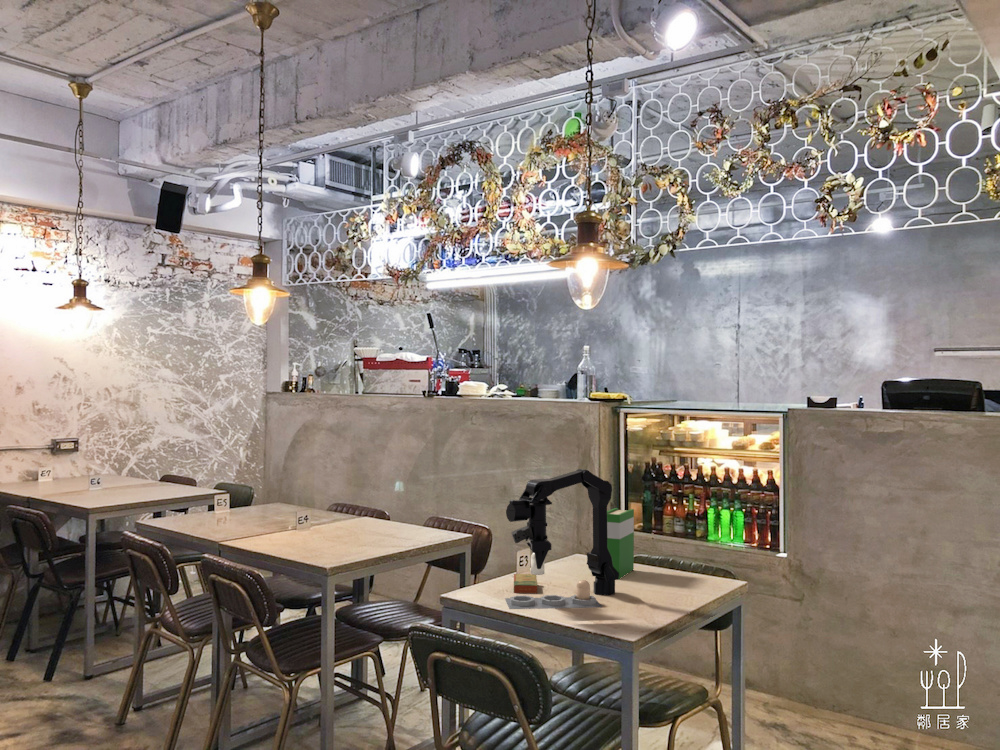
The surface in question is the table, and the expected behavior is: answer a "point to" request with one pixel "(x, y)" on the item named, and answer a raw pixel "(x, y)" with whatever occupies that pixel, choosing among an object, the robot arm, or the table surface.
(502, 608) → the table surface
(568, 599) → the egg stand
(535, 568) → the cream egg
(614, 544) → the hardback book
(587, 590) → the brown egg
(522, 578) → the carton
